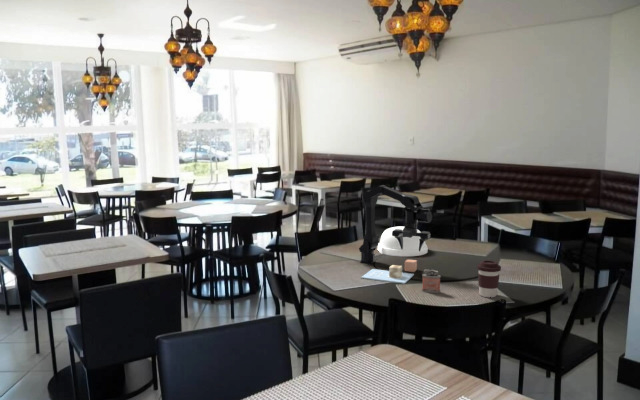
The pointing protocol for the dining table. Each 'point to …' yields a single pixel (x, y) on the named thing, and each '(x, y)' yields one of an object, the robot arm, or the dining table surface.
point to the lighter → (431, 281)
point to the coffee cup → (488, 278)
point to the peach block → (410, 265)
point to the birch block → (395, 271)
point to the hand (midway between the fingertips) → (410, 250)
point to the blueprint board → (386, 276)
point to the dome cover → (392, 246)
